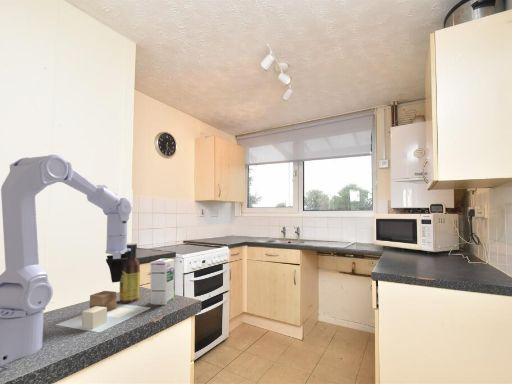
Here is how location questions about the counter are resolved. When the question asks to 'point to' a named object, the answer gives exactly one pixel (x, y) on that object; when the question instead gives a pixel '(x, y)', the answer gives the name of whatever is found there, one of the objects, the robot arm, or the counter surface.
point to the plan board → (113, 317)
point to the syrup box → (162, 281)
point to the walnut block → (104, 300)
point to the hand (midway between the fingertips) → (116, 279)
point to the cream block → (94, 317)
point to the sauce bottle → (130, 277)
